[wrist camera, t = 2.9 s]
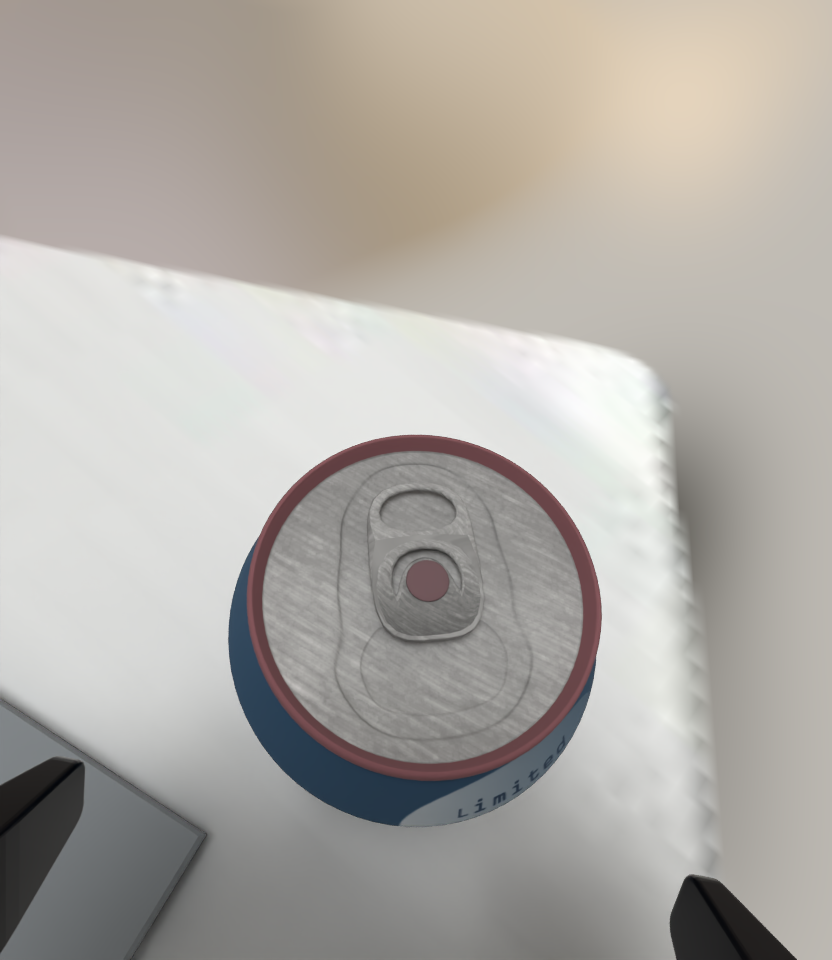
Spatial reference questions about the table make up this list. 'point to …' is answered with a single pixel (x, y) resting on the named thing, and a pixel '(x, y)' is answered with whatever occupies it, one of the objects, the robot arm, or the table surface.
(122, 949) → the rubber mat
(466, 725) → the soda can
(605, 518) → the table surface
